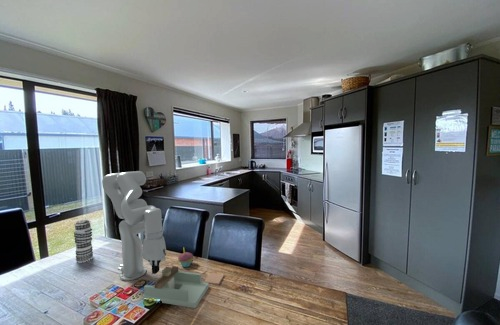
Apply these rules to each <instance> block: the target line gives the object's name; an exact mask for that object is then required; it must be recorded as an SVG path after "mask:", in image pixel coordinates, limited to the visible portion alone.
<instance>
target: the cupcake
mask: <svg viewBox="0 0 500 325" xmlns="http://www.w3.org/2000/svg"><path fill="white" fill-rule="evenodd" d="M182 249H183V253H180V255H179V256H178V262H179V263H180V265H181V267H183V268H188V267H189V266H191V262H192V260H193V259H194V254H193V253H191V252H188V251H186V250H185V247H184V246H183V247H182Z"/></svg>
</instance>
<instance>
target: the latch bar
mask: <svg viewBox="0 0 500 325" xmlns="http://www.w3.org/2000/svg"><path fill="white" fill-rule="evenodd" d="M162 270H163V276H162V275H161V277H160V278H158V280H157V281H155V283H154V284H153V285H155V288H158V289H161V288H162V287H163V286H164V285H165V284H166V283H167V282H168V281H169V280H170V279H171V278H172V277H173V276H174V275H175V274H176V273H177V272H178V271H179V266H175V265H173V266H171V267H169V266H166V267H165V268H163V269H162Z"/></svg>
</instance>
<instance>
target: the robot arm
mask: <svg viewBox="0 0 500 325" xmlns="http://www.w3.org/2000/svg"><path fill="white" fill-rule="evenodd" d="M146 182H147V176H146V174H145V173H144V172H143V171H142V170H141V171H140V170H136V171H125V172H123V171H122V172H115V173H109V174H106V175H104V176H103V178H102V179H101V184H102V188H103V191H104V192H105V194H106V195H107V196H108V198H109V199H110V200H111V202H112V206H113V208H114V211H115V214H116V216H117V217H118V218H119V219H122V220H121V221H120V222H119V224H118V229H119V230H118V231H119V234H120V239H121V253H122V254H121V255H122V263H121V264H120V265H119V266H118V268H117V270H118V271H121V273H120V275H119V278H120V280H122V281H124V282H125V281H127V282H128V281H134V280H136V279H137V280H138V279H139V278H141V277H142V276H144V275H145V274H146V272H147V267H145V266H143V265H144V264H143V263H144V261H143V260H145V261H147V262H148V263H149V265H150V266H151V274H152V275H157V274H158V272H159V271H160V264H161V263H162V262H165V261H166V256H167V247H166V246H167V245H166V242H165V237H164V236H163V220H162V219H163V218H162V210H161V208H158V207H156V206H155V205H152V204H151V205H148V204H147V203H148V202H147V201H146V200H145V199H143V198H140V197H141V196H142V194H143V190H142V188H141V186H143V185H145V184H146ZM141 233H143V235H144V237H143V242H142V239H141V238H140V237H139V235H138V234H141Z"/></svg>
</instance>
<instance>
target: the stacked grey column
mask: <svg viewBox="0 0 500 325" xmlns="http://www.w3.org/2000/svg"><path fill="white" fill-rule="evenodd" d="M91 223H92V222H91V221H90V220H89V219H81V220H78V221H76V223H74V228H75V229H74V232H73V237H74V243H75V246H76V247H75V260H76V261H75V262H76V263H77V262H78V263H77V264H83V263H87V262H89V261H91V260H92V259H94V251H93V244H92V240H93V237H92V236H93V232H92V231H93V228H92V226H91ZM90 259H91V260H90ZM88 260H89V261H88ZM86 261H87V262H86ZM82 262H83V263H82Z"/></svg>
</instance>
